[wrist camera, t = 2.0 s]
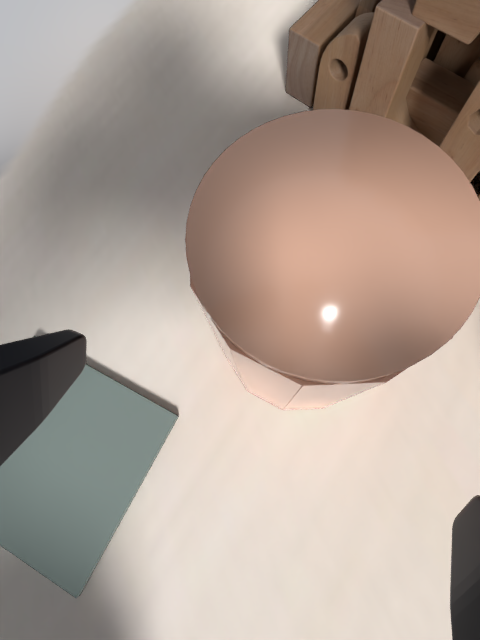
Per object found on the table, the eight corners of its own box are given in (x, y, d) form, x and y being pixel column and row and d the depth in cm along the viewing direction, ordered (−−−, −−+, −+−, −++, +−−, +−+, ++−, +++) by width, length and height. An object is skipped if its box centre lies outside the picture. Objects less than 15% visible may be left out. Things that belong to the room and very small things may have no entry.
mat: (80, 594, 18) (76, 598, 18) (-66, 493, 20) (-73, 495, 19) (178, 416, 20) (177, 416, 20) (38, 337, 22) (34, 335, 21)
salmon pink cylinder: (333, 436, 19) (421, 441, 8) (200, 366, 21) (130, 293, 10) (392, 306, 21) (530, 170, 10) (266, 248, 22) (267, 74, 11)
